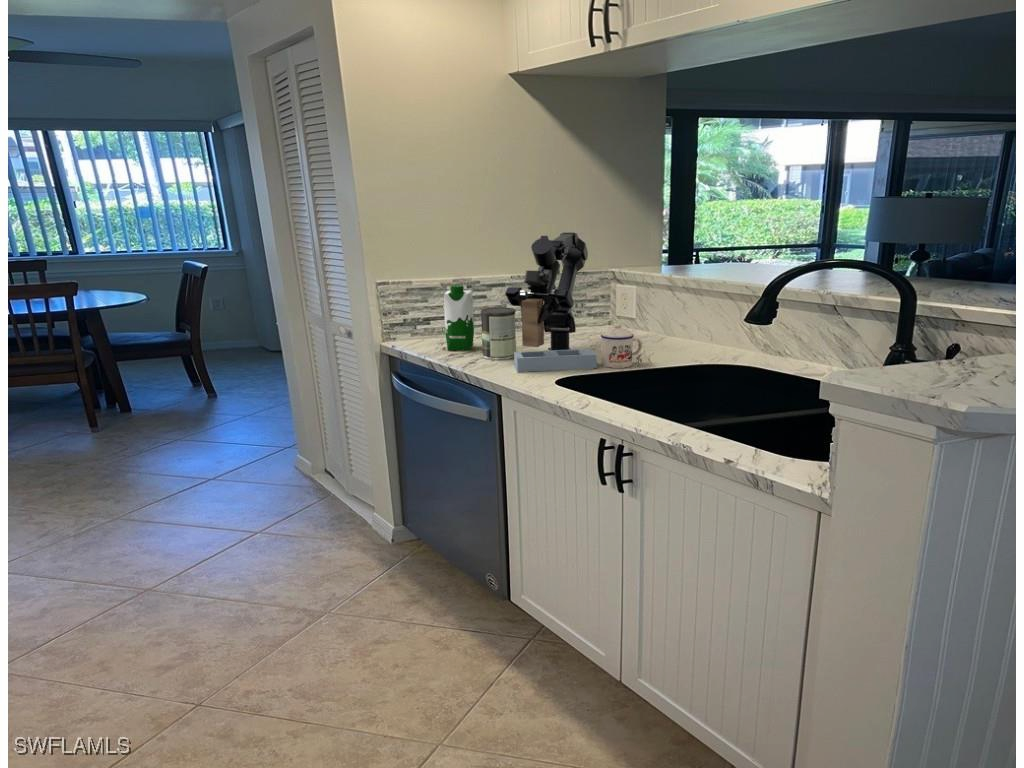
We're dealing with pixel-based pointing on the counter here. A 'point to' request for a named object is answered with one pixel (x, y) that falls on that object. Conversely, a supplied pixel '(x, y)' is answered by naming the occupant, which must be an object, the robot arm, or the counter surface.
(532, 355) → the blue peg holder
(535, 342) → the peg
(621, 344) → the teacup with lid
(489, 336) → the coffee can
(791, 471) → the counter surface
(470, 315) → the milk carton
